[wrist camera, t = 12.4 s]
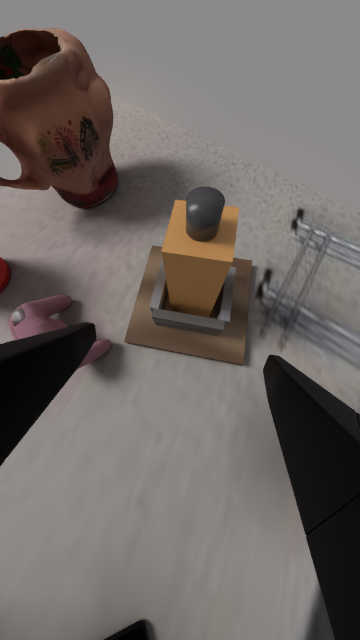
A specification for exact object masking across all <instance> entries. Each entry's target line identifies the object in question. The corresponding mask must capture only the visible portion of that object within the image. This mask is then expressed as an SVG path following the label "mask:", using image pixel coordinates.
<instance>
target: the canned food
mask: <svg viewBox="0 0 360 640" xmlns="http://www.w3.org/2000/svg"><path fill="white" fill-rule="evenodd" d="M9 279H10V269H9V266H8V265H7V264H6V263H5V261H4V260H3V259H2V258H0V292H1V291H2V290H3V289H4V288H5V287H6V285H7V283H8V281H9Z"/></svg>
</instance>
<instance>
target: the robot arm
mask: <svg viewBox="0 0 360 640" xmlns="http://www.w3.org/2000/svg"><path fill="white" fill-rule="evenodd" d="M95 341H96V330H95V325H94V324H93V323H88V322H84V323H81V324H77V325H73V326H69V327H65V328H61V329H57V330H53V331H49V332H45V333H41V334H38V335H34V336H30V337H26V338H22V339H18V340H14V341H10V342H6V343H3V344H0V466H1V465H2V463H3V462H4V461H5V459H6V458H7V457H8V456H9V454H10V453H11V452H12V451H13V449H14V448H15V447H16V446H17V444H18V443H19V442H20V440H21V439H22V438H23V437H24V435H25V434H26V433H27V432H28V430H29V429H30V428H31V427H32V425H33V424H34V423H35V421H36V420H37V419H38V418H39V416H40V415H41V414H42V413H43V411H44V410H45V409H46V408H47V406H48V405H49V404H50V402H51V401H52V400H53V399H54V397H55V396H56V395H57V394H58V392H59V391H60V390H61V389H62V387H63V386H64V385H65V383H66V382H67V381H68V380H69V378H70V377H71V376H72V375H73V373H74V372H75V371H76V370H77V368H78V367H79V366H80V364H81V363H82V361H83V360H84V358H85V357H86V355H87V354H88V352H89V350H90V349H91V347H92V346H93V344H94V342H95ZM263 374H264V380H265V386H266V393H267V398H268V403H269V407H270V410H271V414H272V417H273V421H274V424H275V428H276V432H277V435H278V439H279V442H280V446H281V449H282V453H283V456H284V460H285V464H286V467H287V471H288V474H289V478H290V481H291V485H292V488H293V492H294V496H295V499H296V503H297V506H298V510H299V513H300V517H301V520H302V524H303V527H304V531H305V534H306V535H307V536H306V539H307V542H308V546H309V549H310V553H311V556H312V560H313V564H314V567H315V571H316V574H317V578H318V581H319V585H320V588H321V592H322V596H323V599H324V603H325V606H326V610H327V613H328V617H329V620H330V624H331V628H332V631H333V635H334V638H335V640H360V414H359V413H356V411H354V410H353V409H352V408H350V407H349V406H348V405H346V404H345V403H343V402H342V401H341V400H339V399H338V398H336V397H335V396H334V395H332V394H331V393H330V392H328V391H327V390H325V389H324V388H323V387H321V386H320V385H319V384H317V383H316V382H314V381H313V380H312V379H310V378H309V377H307V376H306V375H305V374H303V373H302V372H301V371H299V370H298V369H296V368H295V367H294V366H292V365H291V364H289V363H288V362H287V361H285V360H284V359H283V358H281V357H280V356H277V355H269V356H268V358H267V361H266V363H265V366H264V368H263ZM138 632H141V633H142V634H138ZM104 640H149V638H148V633H147V629H146V625H145V623H144V622H143V621H138V622H136V623H134V624H132V625H130V626H128V627H127V628H125V629H123V630H121V631H119V632H118V633H116V634H114V635H112V636H110V637H108V638H106V639H104Z"/></svg>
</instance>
